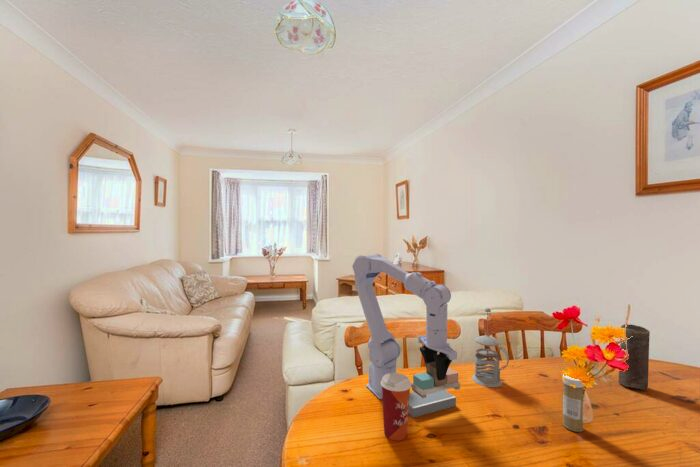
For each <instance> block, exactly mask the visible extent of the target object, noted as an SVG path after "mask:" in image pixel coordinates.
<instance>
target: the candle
mask: <svg viewBox="0 0 700 467" xmlns="http://www.w3.org/2000/svg"><path fill="white" fill-rule="evenodd" d="M626 325H627V327H626V337H627V338H630V337H631V336H633V337H631V338H630V339H628V340H627V349H628V354H629V359H628V360H626V361H625V362H626V363H627V364H628V365H629V368H628V370H626V371H625V372H623V371H619V370H618V383H619V384H621V385H622V386H623V387H627V388H630V387H631V389H634V388H635V389H634V390H638V389H640V390H639V391H644V390H647V389H648V386H649V358H650V330H648V329H647V328H645V327H643V326H641V325H635V324H627V323H626ZM621 328H625V324H622V325H621V326H620V329H621ZM621 340H622V339H621V338H620V341H621ZM620 347H621V348H622V349H624V350H626V344H625V342H623V343H621V344H620V345H619V348H620Z"/></svg>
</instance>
